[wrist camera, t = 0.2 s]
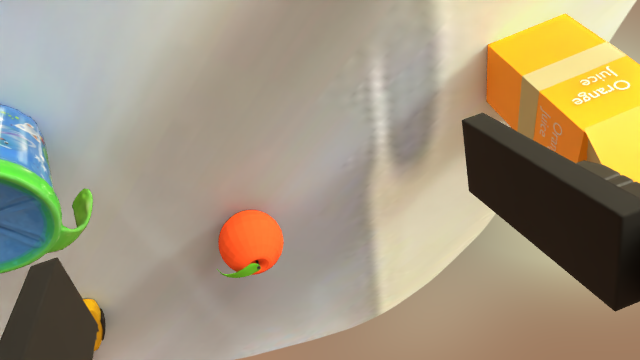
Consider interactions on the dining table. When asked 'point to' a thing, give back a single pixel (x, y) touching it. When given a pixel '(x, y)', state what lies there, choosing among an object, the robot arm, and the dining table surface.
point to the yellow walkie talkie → (97, 320)
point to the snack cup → (31, 196)
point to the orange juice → (569, 93)
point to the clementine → (250, 243)
